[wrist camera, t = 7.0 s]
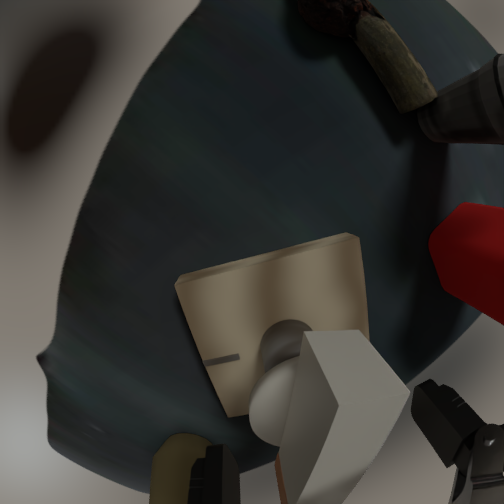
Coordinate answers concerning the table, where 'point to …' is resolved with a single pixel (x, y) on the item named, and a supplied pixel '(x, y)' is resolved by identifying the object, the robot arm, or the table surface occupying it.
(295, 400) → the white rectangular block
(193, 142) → the table surface
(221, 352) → the post block
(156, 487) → the squeeze bottle
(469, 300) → the mug
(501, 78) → the beverage cup
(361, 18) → the morel mushroom
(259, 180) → the table surface
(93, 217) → the table surface
